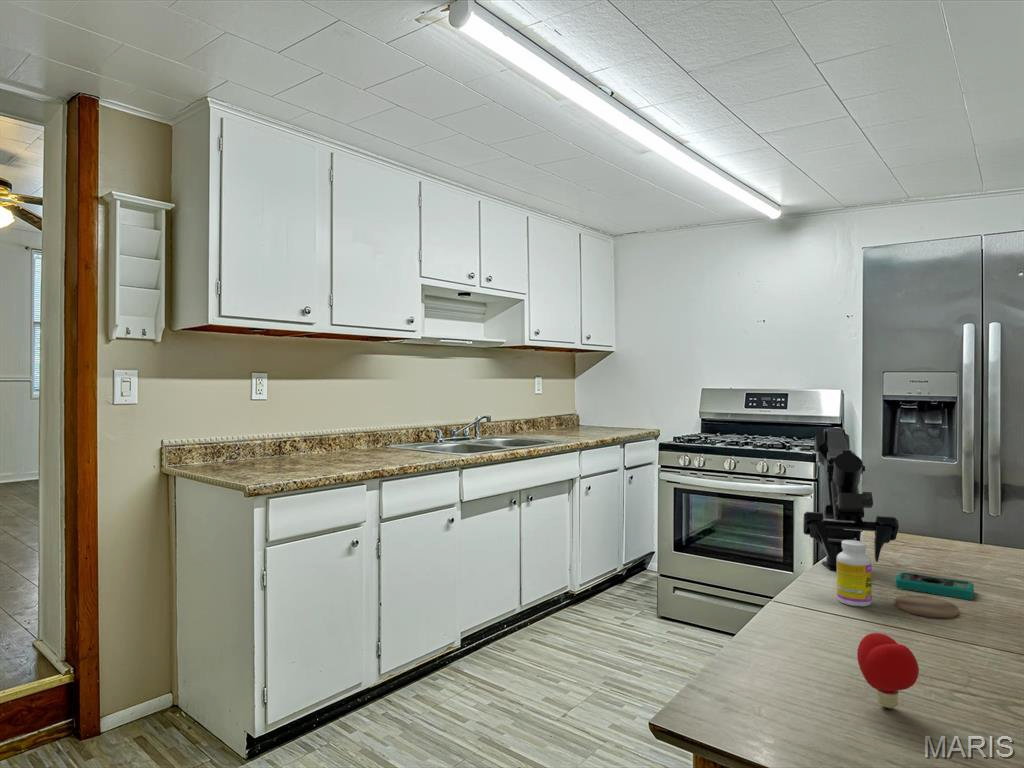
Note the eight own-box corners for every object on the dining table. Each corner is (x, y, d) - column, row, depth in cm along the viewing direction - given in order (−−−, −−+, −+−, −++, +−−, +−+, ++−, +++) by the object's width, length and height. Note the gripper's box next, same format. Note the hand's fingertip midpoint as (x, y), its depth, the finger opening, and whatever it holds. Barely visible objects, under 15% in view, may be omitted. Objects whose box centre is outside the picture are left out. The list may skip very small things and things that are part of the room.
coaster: (885, 599, 141) (885, 594, 141) (939, 600, 140) (939, 596, 140) (911, 617, 130) (911, 612, 130) (969, 619, 129) (969, 614, 129)
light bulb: (845, 694, 99) (844, 628, 99) (889, 692, 99) (888, 626, 99) (885, 726, 89) (885, 653, 89) (933, 723, 90) (933, 651, 90)
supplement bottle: (870, 609, 135) (870, 547, 135) (835, 604, 138) (834, 543, 138) (872, 600, 140) (872, 541, 140) (838, 595, 144) (838, 537, 144)
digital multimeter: (898, 582, 155) (897, 569, 155) (974, 593, 146) (974, 580, 146) (893, 590, 149) (893, 577, 149) (972, 603, 140) (972, 589, 140)
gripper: (803, 476, 149) (807, 534, 139) (896, 480, 142) (908, 541, 132) (801, 505, 156) (805, 562, 146) (890, 509, 150) (900, 570, 139)
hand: (852, 558), depth 141 cm, fingers open, 9 cm apart
